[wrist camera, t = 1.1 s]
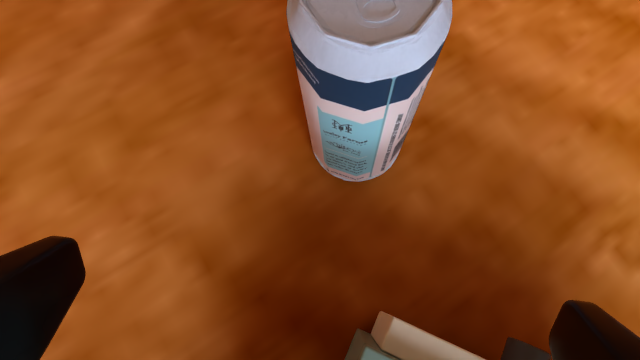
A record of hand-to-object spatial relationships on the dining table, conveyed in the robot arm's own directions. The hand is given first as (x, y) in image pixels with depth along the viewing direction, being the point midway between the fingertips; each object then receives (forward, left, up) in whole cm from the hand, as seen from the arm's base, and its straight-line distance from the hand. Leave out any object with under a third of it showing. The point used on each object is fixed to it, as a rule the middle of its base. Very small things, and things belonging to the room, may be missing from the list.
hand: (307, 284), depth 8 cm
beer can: (+5, -6, -14) cm, 16 cm away
